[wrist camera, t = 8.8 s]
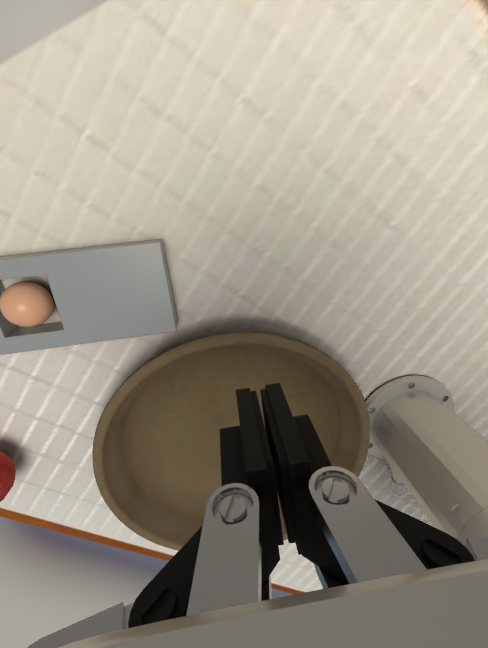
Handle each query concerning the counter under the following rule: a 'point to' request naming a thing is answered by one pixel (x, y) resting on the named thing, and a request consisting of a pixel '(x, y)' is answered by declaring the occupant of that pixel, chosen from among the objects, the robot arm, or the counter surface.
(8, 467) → the onion
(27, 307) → the ball
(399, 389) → the robot arm
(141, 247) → the block
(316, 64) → the counter surface
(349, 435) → the plant saucer
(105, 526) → the counter surface
